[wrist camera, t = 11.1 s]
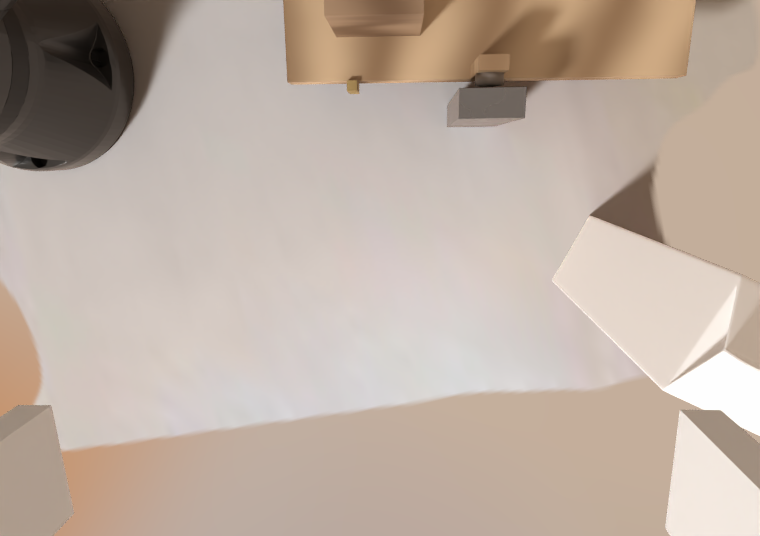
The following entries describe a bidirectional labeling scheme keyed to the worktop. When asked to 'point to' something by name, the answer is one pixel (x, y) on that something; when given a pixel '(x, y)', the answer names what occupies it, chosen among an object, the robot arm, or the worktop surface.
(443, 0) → the tan piece
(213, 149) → the worktop surface
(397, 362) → the worktop surface
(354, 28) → the block
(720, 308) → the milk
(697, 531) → the robot arm
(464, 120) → the fulcrum
